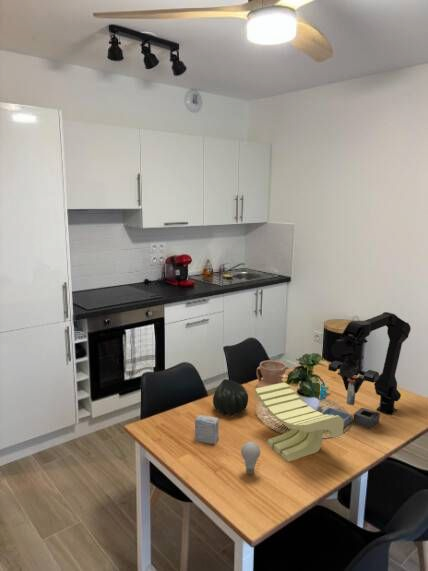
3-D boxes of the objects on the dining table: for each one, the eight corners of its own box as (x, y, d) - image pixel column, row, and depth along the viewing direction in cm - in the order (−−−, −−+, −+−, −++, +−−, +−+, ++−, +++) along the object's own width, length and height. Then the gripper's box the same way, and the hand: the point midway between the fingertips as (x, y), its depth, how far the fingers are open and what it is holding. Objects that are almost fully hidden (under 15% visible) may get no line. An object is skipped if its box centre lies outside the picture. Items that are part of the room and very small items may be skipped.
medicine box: (218, 439, 158) (219, 417, 157) (214, 445, 154) (215, 423, 153) (199, 435, 161) (199, 414, 159) (194, 441, 157) (194, 419, 155)
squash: (259, 403, 175) (243, 370, 181) (231, 415, 167) (215, 380, 172) (243, 414, 186) (228, 383, 191) (215, 426, 177) (201, 392, 182)
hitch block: (360, 416, 177) (361, 407, 176) (379, 422, 172) (379, 413, 171) (353, 422, 171) (353, 413, 171) (371, 429, 166) (372, 420, 166)
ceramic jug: (296, 395, 195) (297, 366, 193) (274, 404, 186) (275, 373, 184) (268, 383, 209) (269, 356, 207) (246, 391, 200) (247, 362, 198)
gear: (311, 398, 189) (306, 377, 195) (305, 403, 194) (300, 382, 199) (332, 398, 193) (327, 377, 198) (326, 403, 197) (320, 382, 203)
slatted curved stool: (340, 462, 145) (344, 414, 142) (303, 475, 138) (306, 424, 134) (287, 422, 171) (289, 381, 168) (253, 431, 164) (255, 388, 161)
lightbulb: (239, 468, 141) (240, 438, 139) (257, 467, 141) (258, 437, 139) (242, 480, 135) (242, 448, 133) (261, 479, 135) (262, 447, 133)
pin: (347, 399, 173) (349, 374, 171) (358, 403, 170) (360, 377, 168) (342, 403, 169) (345, 377, 168) (353, 406, 167) (355, 380, 165)
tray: (328, 413, 179) (328, 406, 178) (351, 421, 172) (351, 414, 172) (316, 422, 171) (316, 415, 171) (339, 431, 165) (340, 424, 164)
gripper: (323, 353, 166) (320, 390, 169) (370, 365, 154) (366, 405, 157) (335, 346, 174) (333, 382, 177) (381, 358, 162) (377, 396, 165)
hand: (351, 391), depth 169 cm, fingers closed on pin, 3 cm apart
